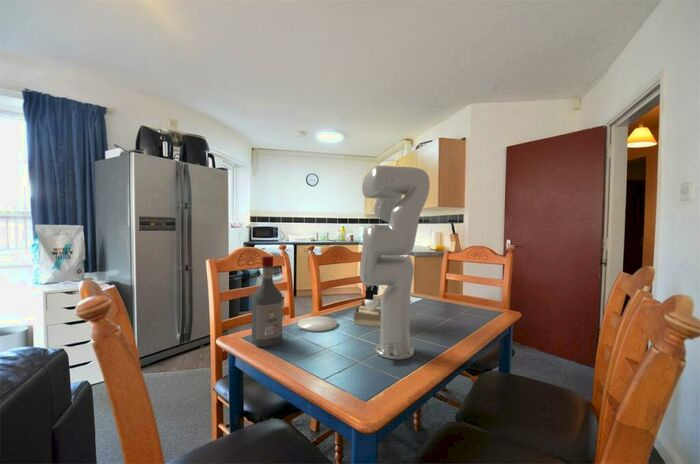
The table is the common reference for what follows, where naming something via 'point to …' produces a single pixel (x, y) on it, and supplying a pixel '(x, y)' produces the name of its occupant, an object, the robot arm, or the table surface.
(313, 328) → the white plate
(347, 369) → the table surface
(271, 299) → the liquor
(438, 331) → the table surface
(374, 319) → the pegged square board
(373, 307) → the white rounded piece
